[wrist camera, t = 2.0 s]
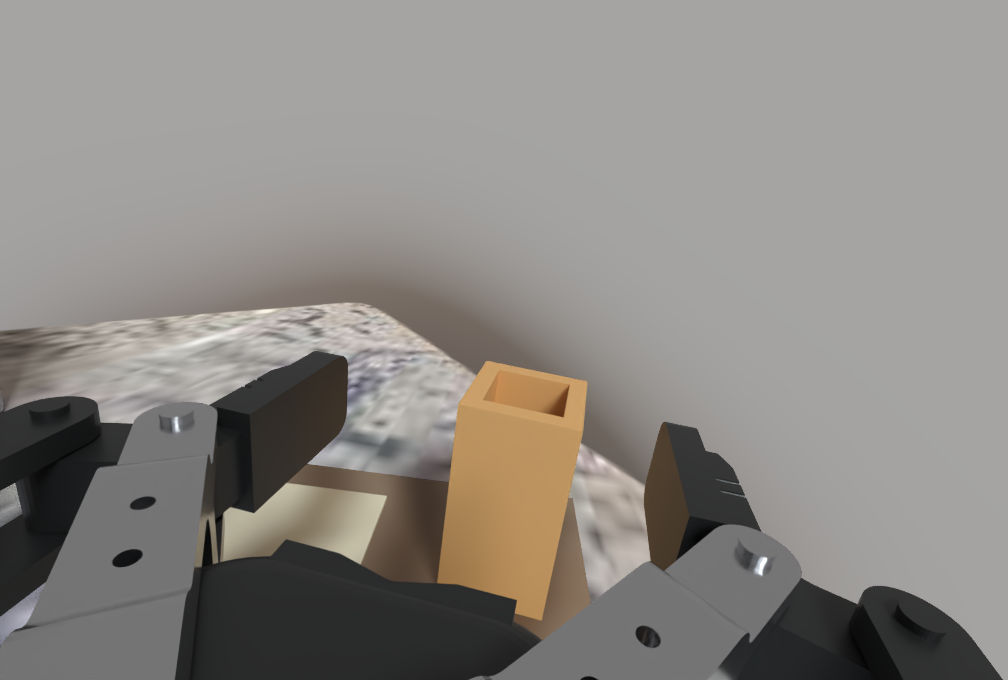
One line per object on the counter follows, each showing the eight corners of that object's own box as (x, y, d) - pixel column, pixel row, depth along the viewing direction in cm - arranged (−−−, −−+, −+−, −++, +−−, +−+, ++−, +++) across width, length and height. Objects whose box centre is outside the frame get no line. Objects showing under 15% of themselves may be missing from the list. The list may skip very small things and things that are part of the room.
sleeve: (541, 620, 25) (582, 431, 21) (436, 591, 26) (458, 403, 22) (552, 544, 30) (587, 381, 26) (465, 521, 31) (486, 360, 27)
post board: (101, 667, 21) (62, 462, 18) (259, 476, 35) (254, 336, 31) (600, 726, 22) (657, 538, 18) (568, 515, 35) (598, 382, 32)
